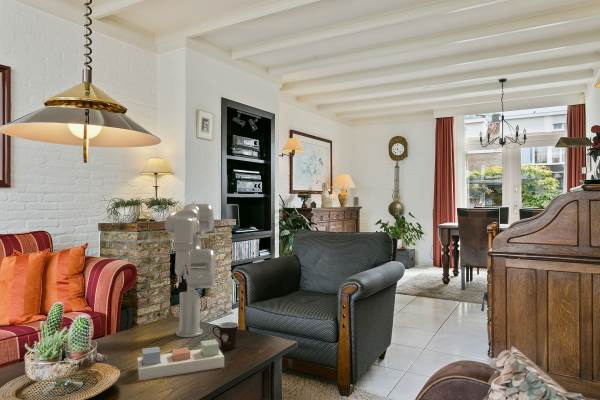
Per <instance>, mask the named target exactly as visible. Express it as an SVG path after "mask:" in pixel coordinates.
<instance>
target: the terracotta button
mask: <svg viewBox="0 0 600 400" xmlns="http://www.w3.org/2000/svg"><path fill="white" fill-rule="evenodd" d="M171 353H172V359H173V361H180V360H187V359H190V349H189V347H187V346H186V347H180V348H173V349H172V350H171Z"/></svg>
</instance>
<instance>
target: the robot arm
mask: <svg viewBox="0 0 600 400" xmlns="http://www.w3.org/2000/svg"><path fill="white" fill-rule="evenodd" d="M214 227H215V217H214V209H213V207H212V206H211V205H210V204H209V203H188V204H186V205H185V206H184V207H183V209H182V210H179V211H174V212H171V213H170V214H168V216H167V217H166V219H165V222H164V229H165V232H166V233H168V234H170V235H174V236H173V246H174V247H173V251H174V252H175V259H174V260H175V261H174V262H175V264H174V273H175V275H176V276H178V277H177V281H178V292H179V329H177V330H176V331H175V335H176V337H177V336H178V337H180V338H193V337H198V336H201V335H202V334H203V333H204V331H203V329H202V328H200V323H201V322H200V321H201V320H200V319H201V317H200V315H201V313H200V312H201V310H200V309H201V297H200V295H199V293H198V291H197V290H196V289H210V288H213V287H214V286H215V282H216V253H215V251H214V250H213V249H211V248H202V240H201V239H200V238H199V236H198V235H197V234H196V233H197V232H205V233H206V232H211V231H213V230H214Z"/></svg>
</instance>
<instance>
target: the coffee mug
mask: <svg viewBox="0 0 600 400" xmlns="http://www.w3.org/2000/svg"><path fill="white" fill-rule="evenodd" d="M216 328H217V329H218V331H219V336H218V335H217V334H216V332H215V329H216ZM212 334H213V335H214V336H215V337H216V338H217V339H218V340H220V347H221V348H220V350H223V351H231V350H236V348H237V340H238V334H239V323H237V322H235V321H226V322H222V323H219V324H218V326H217V325H215V326H213V328H212Z"/></svg>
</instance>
